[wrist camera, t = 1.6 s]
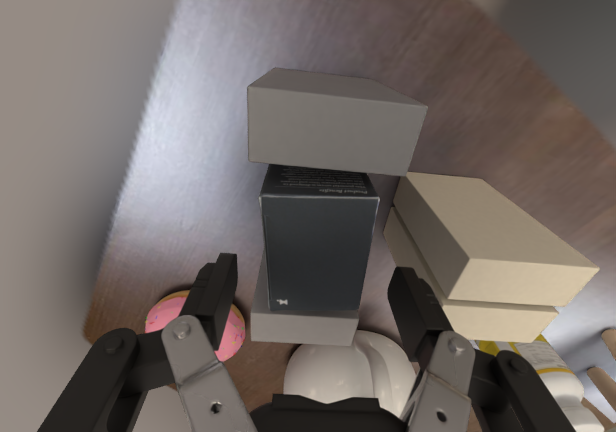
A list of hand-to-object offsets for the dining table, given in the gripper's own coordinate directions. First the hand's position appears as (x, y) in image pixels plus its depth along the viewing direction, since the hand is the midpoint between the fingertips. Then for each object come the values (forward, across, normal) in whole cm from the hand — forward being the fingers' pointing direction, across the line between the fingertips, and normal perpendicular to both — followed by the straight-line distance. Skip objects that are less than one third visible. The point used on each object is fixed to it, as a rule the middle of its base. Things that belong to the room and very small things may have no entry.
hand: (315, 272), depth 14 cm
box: (+11, 0, 0) cm, 11 cm away
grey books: (+11, 0, 0) cm, 11 cm away
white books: (+11, -11, +2) cm, 16 cm away
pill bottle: (+11, -25, +17) cm, 32 cm away
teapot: (+12, -8, +27) cm, 30 cm away
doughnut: (+11, +11, +19) cm, 25 cm away
